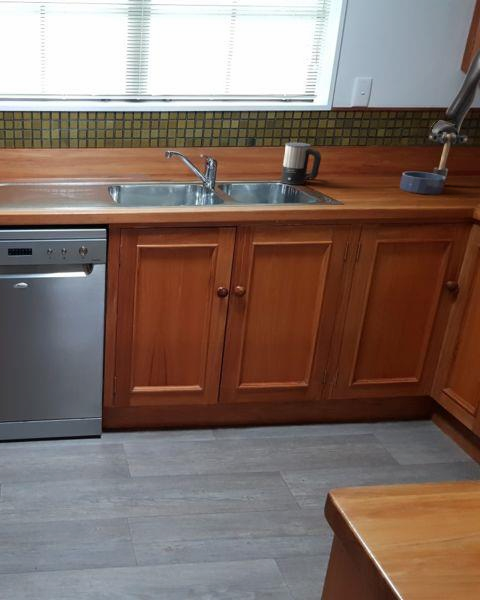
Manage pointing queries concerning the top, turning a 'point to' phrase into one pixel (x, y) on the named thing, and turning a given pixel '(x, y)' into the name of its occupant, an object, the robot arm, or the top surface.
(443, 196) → the top surface
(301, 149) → the milk frother
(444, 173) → the holder
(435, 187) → the bowl
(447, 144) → the stick
